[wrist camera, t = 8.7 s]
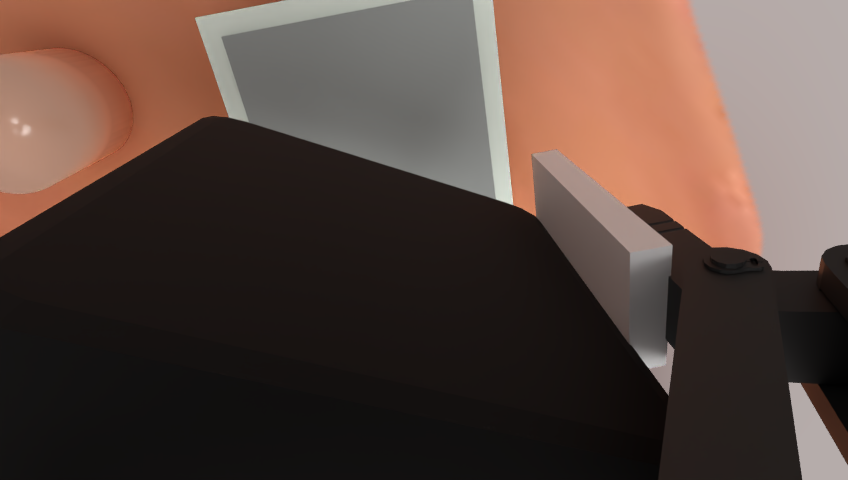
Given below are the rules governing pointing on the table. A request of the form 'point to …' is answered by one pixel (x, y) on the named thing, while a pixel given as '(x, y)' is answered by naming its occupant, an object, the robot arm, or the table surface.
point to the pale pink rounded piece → (57, 117)
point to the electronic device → (306, 329)
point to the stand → (372, 82)
